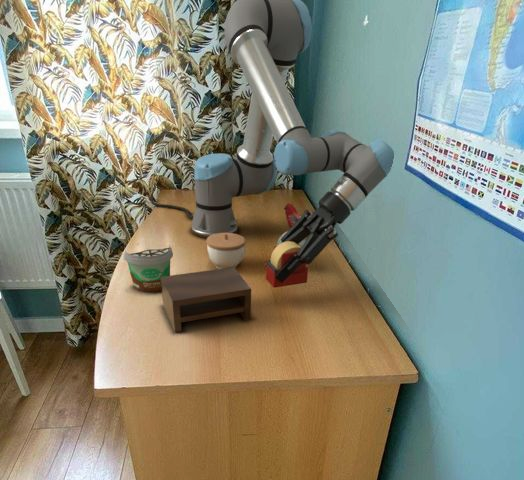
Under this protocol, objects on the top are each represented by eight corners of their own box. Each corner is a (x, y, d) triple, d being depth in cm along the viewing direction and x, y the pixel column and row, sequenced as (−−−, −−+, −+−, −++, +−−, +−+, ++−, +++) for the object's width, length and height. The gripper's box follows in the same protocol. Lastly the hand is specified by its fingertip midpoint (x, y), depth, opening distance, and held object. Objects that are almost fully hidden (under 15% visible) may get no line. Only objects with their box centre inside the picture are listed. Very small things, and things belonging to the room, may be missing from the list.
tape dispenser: (265, 278, 114) (267, 242, 108) (298, 273, 117) (301, 238, 111) (273, 288, 110) (275, 250, 104) (307, 282, 113) (311, 246, 107)
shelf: (163, 306, 110) (160, 276, 105) (233, 295, 116) (233, 266, 111) (175, 332, 101) (172, 300, 96) (250, 319, 107) (251, 288, 102)
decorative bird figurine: (285, 230, 156) (287, 200, 150) (324, 246, 145) (328, 215, 139) (279, 232, 154) (281, 202, 148) (318, 248, 144) (321, 217, 138)
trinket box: (251, 262, 133) (251, 231, 128) (233, 276, 125) (234, 244, 119) (218, 254, 136) (218, 224, 131) (200, 268, 128) (198, 236, 123)
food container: (134, 298, 113) (128, 260, 107) (128, 287, 117) (122, 251, 111) (181, 289, 118) (179, 253, 112) (174, 279, 122) (171, 243, 116)
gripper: (313, 180, 111) (249, 251, 115) (353, 202, 98) (278, 282, 101) (330, 200, 116) (267, 267, 120) (369, 224, 102) (298, 299, 106)
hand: (273, 274), depth 111 cm, fingers closed on tape dispenser, 5 cm apart
